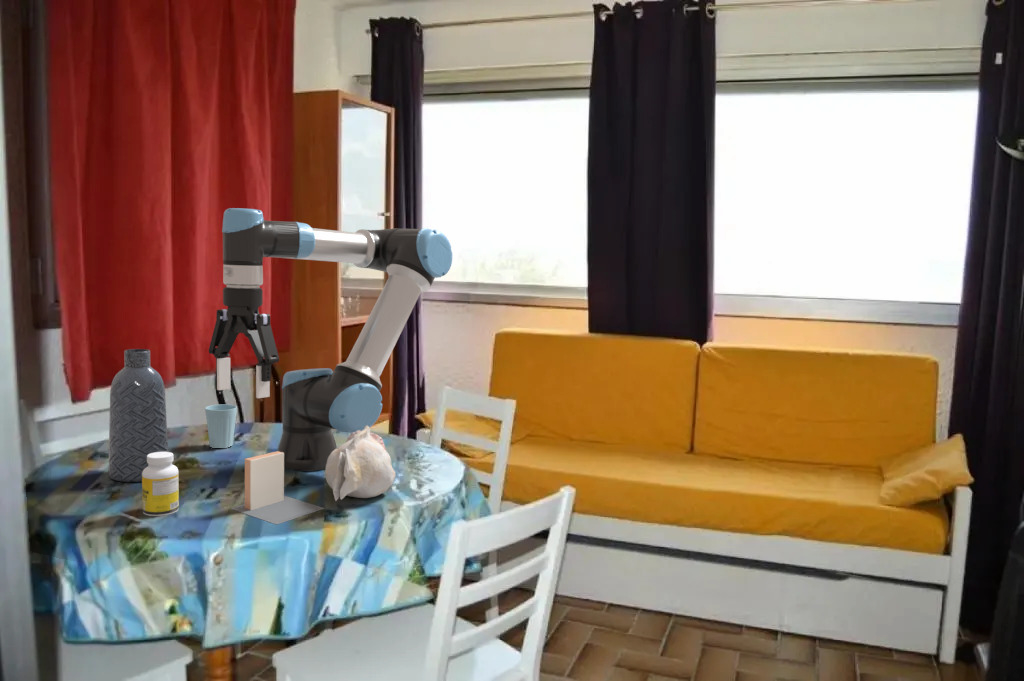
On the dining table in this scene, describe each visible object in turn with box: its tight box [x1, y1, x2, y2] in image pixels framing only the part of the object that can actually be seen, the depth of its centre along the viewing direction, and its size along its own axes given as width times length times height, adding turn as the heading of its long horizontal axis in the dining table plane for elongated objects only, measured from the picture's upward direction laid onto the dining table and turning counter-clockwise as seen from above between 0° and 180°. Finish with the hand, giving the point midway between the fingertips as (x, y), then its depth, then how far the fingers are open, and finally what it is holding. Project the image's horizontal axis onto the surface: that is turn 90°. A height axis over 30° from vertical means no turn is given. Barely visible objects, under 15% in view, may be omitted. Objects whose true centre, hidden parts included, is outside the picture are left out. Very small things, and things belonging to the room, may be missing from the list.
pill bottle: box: [141, 451, 180, 517], centre depth 150 cm, size 6×6×12 cm
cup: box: [204, 403, 238, 449], centre depth 200 cm, size 8×8×10 cm
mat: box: [229, 495, 326, 526], centre depth 154 cm, size 14×12×1 cm
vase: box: [108, 348, 169, 483], centre depth 173 cm, size 12×12×28 cm
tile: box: [244, 451, 285, 510], centre depth 156 cm, size 2×8×10 cm, turn 146°
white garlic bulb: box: [324, 426, 397, 502], centre depth 164 cm, size 16×19×15 cm
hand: (242, 393), depth 158 cm, fingers open, 12 cm apart
